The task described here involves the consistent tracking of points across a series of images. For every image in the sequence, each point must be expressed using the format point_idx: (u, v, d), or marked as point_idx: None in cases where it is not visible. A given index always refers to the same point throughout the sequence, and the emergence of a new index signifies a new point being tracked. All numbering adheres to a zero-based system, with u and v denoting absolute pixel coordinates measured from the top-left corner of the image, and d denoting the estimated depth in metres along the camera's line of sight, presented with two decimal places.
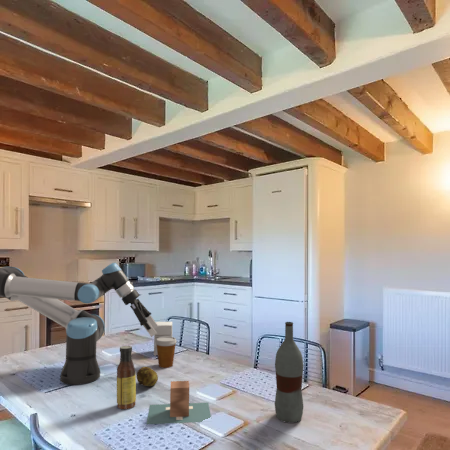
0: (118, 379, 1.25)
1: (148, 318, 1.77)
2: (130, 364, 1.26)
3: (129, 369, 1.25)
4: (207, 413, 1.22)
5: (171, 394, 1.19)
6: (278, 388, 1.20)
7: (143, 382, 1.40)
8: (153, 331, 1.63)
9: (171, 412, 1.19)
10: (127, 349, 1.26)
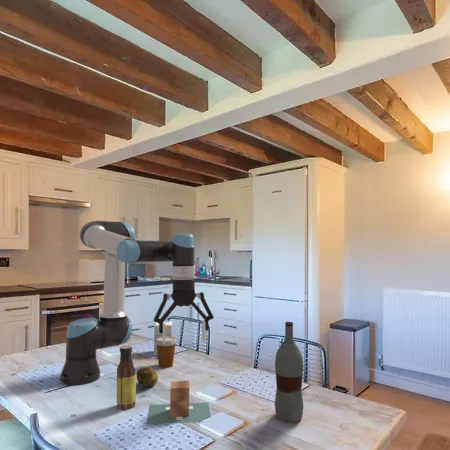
0: (118, 379, 1.25)
1: (202, 323, 1.29)
2: (130, 364, 1.26)
3: (129, 369, 1.25)
4: (207, 413, 1.22)
5: (171, 394, 1.19)
6: (278, 388, 1.20)
7: (143, 382, 1.40)
8: None
9: (171, 412, 1.19)
10: (127, 349, 1.26)
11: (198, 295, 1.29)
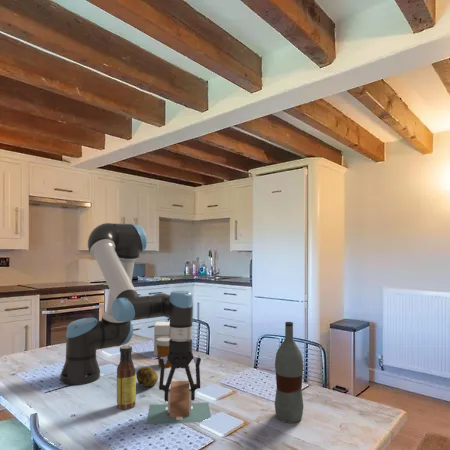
0: (118, 379, 1.25)
1: None
2: (130, 364, 1.26)
3: (129, 369, 1.25)
4: (207, 413, 1.22)
5: (171, 394, 1.19)
6: (278, 388, 1.20)
7: (143, 382, 1.40)
8: None
9: (171, 412, 1.19)
10: (127, 349, 1.26)
11: (195, 359, 1.23)
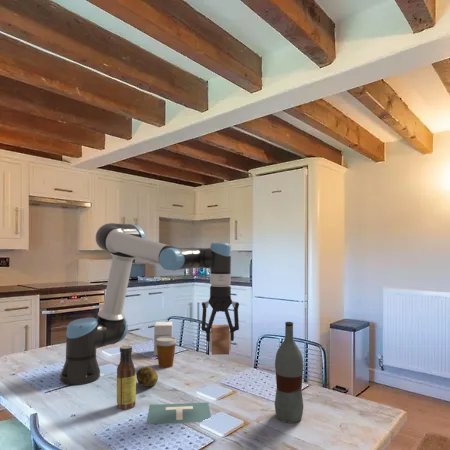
0: (118, 379, 1.25)
1: None
2: (130, 364, 1.26)
3: (129, 369, 1.25)
4: (207, 413, 1.22)
5: (213, 334, 1.31)
6: (278, 388, 1.20)
7: (143, 382, 1.40)
8: (209, 346, 1.33)
9: (213, 350, 1.31)
10: (127, 349, 1.26)
11: (233, 303, 1.35)
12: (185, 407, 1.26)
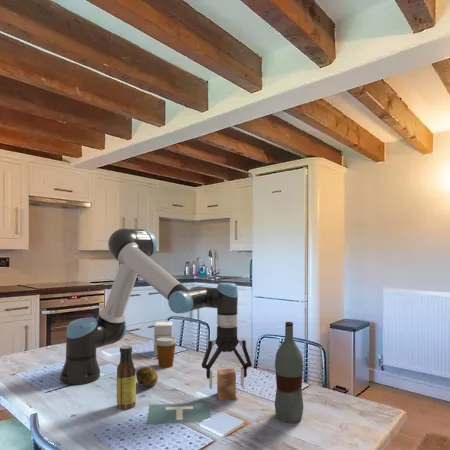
0: (118, 379, 1.25)
1: (241, 369, 1.38)
2: (130, 364, 1.26)
3: (129, 369, 1.25)
4: (207, 413, 1.22)
5: (220, 380, 1.33)
6: (278, 388, 1.20)
7: (143, 382, 1.40)
8: (209, 383, 1.35)
9: (220, 396, 1.33)
10: (127, 349, 1.26)
11: (240, 342, 1.37)
12: (185, 407, 1.26)
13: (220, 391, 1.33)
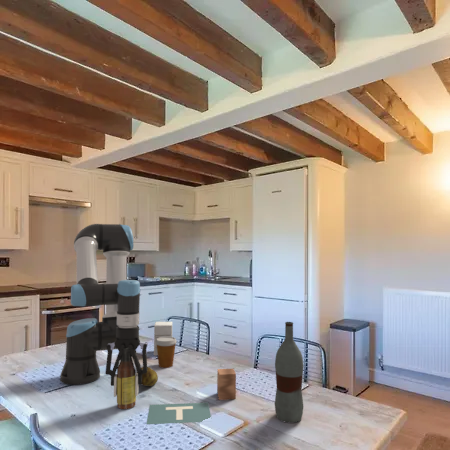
0: (118, 379, 1.25)
1: (136, 376, 1.28)
2: (130, 364, 1.26)
3: (130, 369, 1.25)
4: (207, 413, 1.22)
5: (220, 380, 1.33)
6: (278, 388, 1.20)
7: (143, 382, 1.40)
8: None
9: (220, 396, 1.33)
10: (127, 349, 1.26)
11: (141, 345, 1.28)
12: (185, 407, 1.26)
13: (220, 391, 1.33)
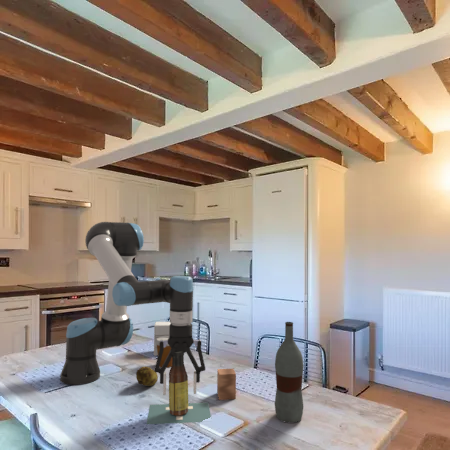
0: (171, 384, 1.20)
1: None
2: (183, 368, 1.22)
3: (183, 374, 1.21)
4: (207, 413, 1.22)
5: (220, 380, 1.33)
6: (278, 388, 1.20)
7: (142, 382, 1.40)
8: (163, 389, 1.21)
9: (220, 396, 1.33)
10: (180, 353, 1.22)
11: (195, 342, 1.24)
12: None
13: (220, 391, 1.33)
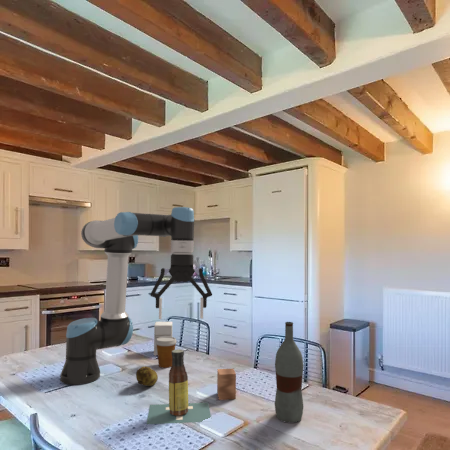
0: (171, 384, 1.20)
1: None
2: (183, 369, 1.22)
3: (183, 374, 1.21)
4: (207, 413, 1.22)
5: (220, 380, 1.33)
6: (278, 388, 1.20)
7: (142, 382, 1.40)
8: (159, 314, 1.22)
9: (220, 396, 1.33)
10: (180, 353, 1.22)
11: (197, 271, 1.25)
12: None
13: (220, 391, 1.33)
